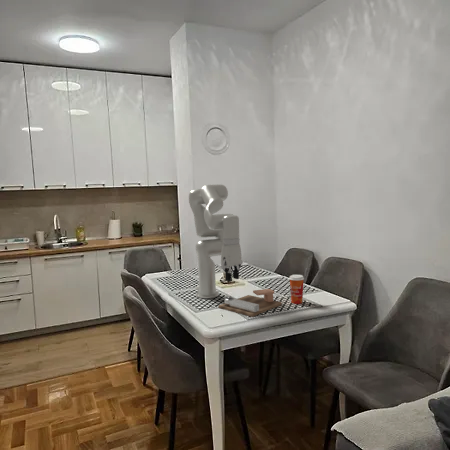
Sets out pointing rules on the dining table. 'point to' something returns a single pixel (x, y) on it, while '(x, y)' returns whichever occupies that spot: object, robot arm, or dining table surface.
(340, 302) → the dining table surface
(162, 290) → the dining table surface
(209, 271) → the robot arm
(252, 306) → the link
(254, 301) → the board
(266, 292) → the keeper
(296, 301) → the paper cup
